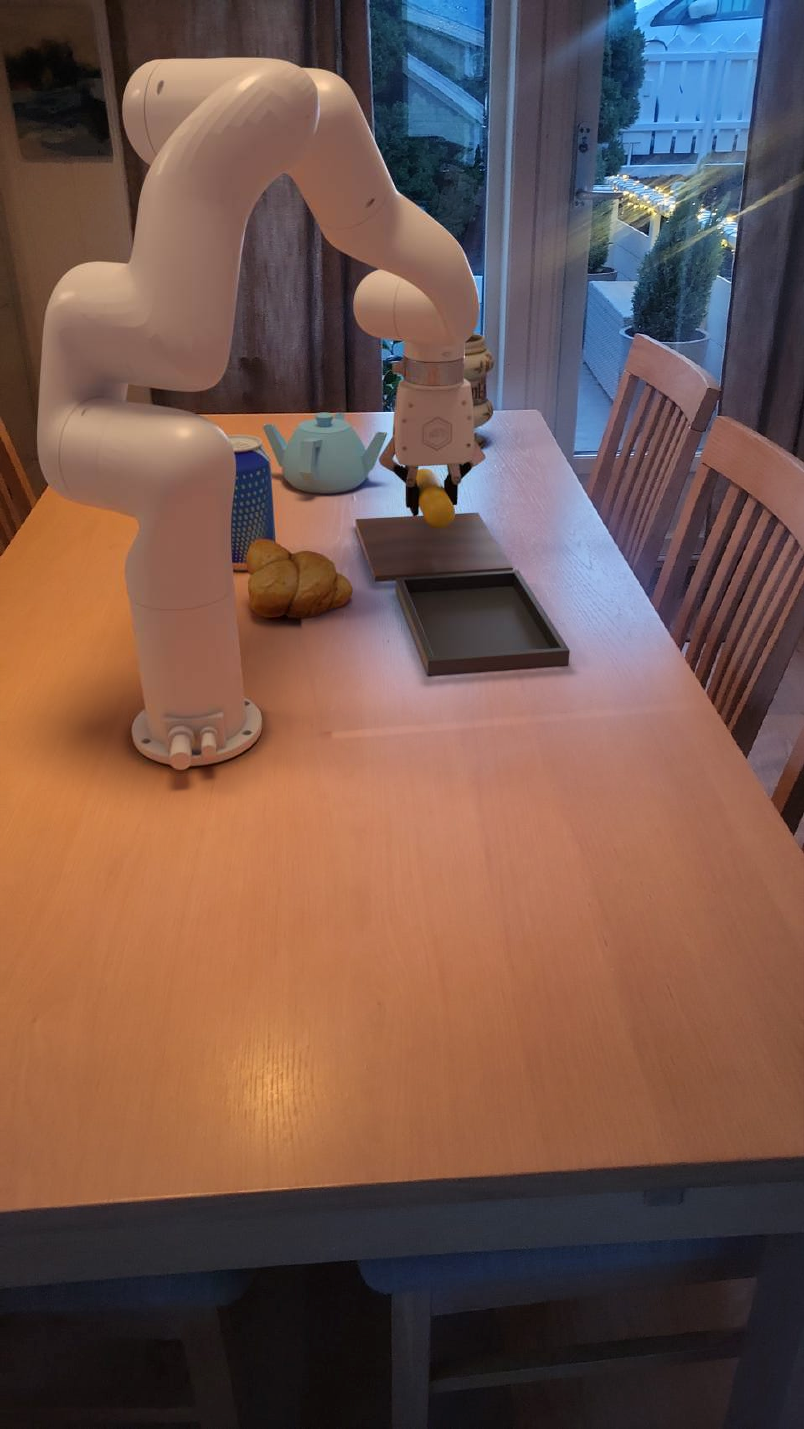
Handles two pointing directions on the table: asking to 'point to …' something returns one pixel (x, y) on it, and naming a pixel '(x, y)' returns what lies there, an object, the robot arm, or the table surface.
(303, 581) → the bread roll
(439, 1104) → the table surface
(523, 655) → the tray
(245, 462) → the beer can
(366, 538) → the board
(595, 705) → the table surface
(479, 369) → the apothecary jar
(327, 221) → the robot arm
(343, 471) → the teapot
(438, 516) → the yellow capsule pill
